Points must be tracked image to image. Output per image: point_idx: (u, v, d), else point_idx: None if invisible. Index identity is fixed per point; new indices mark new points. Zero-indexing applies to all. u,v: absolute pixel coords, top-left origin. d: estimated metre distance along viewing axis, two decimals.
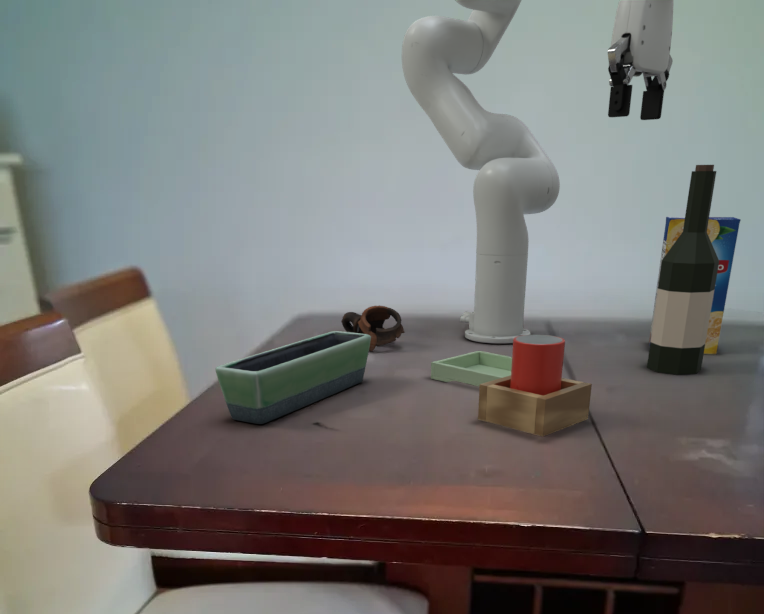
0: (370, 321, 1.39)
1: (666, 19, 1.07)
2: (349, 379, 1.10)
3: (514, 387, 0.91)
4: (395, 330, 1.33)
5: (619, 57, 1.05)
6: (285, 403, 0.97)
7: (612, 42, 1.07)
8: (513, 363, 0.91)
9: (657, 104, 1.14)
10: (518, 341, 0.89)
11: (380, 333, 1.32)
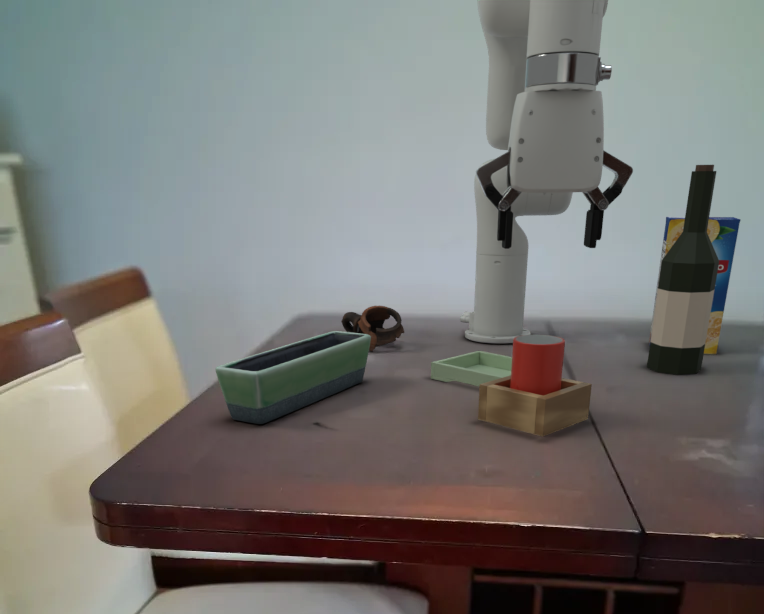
0: (370, 321, 1.39)
1: (575, 124, 0.79)
2: (349, 379, 1.10)
3: (514, 387, 0.91)
4: (395, 330, 1.33)
5: (488, 179, 0.83)
6: (286, 403, 0.97)
7: None
8: (513, 363, 0.91)
9: (590, 229, 0.84)
10: (518, 341, 0.89)
11: (380, 333, 1.32)
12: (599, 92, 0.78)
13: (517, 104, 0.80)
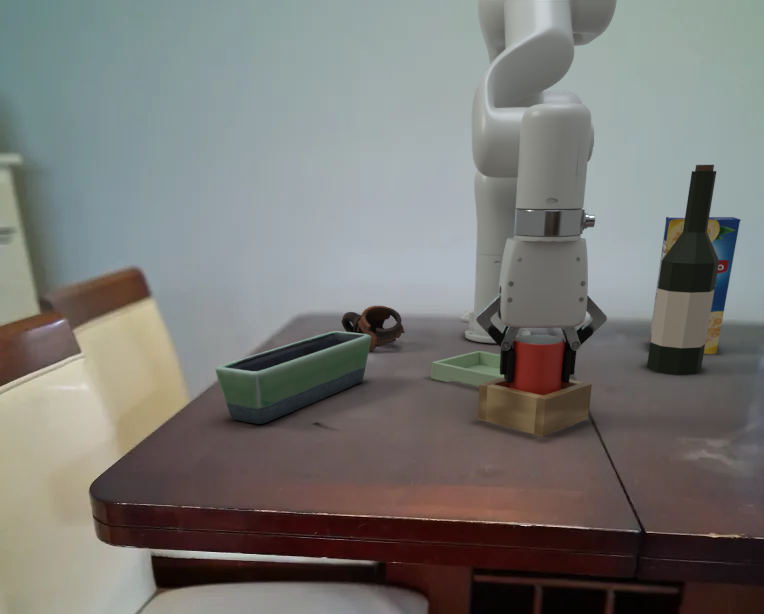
0: (370, 321, 1.39)
1: (561, 269, 0.85)
2: (349, 379, 1.10)
3: (514, 387, 0.91)
4: (395, 330, 1.33)
5: (488, 323, 0.89)
6: (286, 403, 0.97)
7: None
8: None
9: (564, 366, 0.90)
10: (518, 341, 0.89)
11: (380, 333, 1.32)
12: (583, 241, 0.84)
13: (507, 249, 0.86)
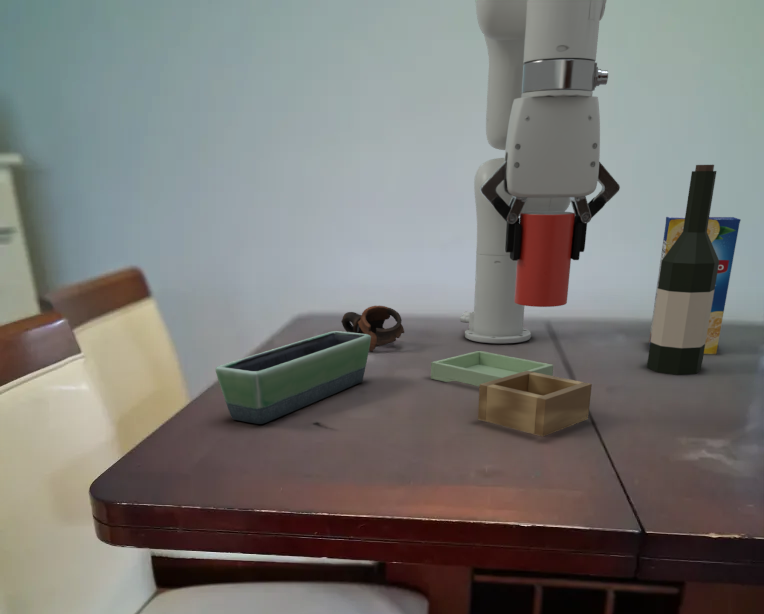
0: (370, 321, 1.39)
1: (572, 129, 0.79)
2: (349, 379, 1.10)
3: (521, 265, 0.86)
4: (395, 330, 1.33)
5: (494, 193, 0.84)
6: (286, 403, 0.97)
7: None
8: None
9: (573, 242, 0.85)
10: (525, 213, 0.84)
11: (380, 333, 1.32)
12: (595, 98, 0.78)
13: (514, 109, 0.80)
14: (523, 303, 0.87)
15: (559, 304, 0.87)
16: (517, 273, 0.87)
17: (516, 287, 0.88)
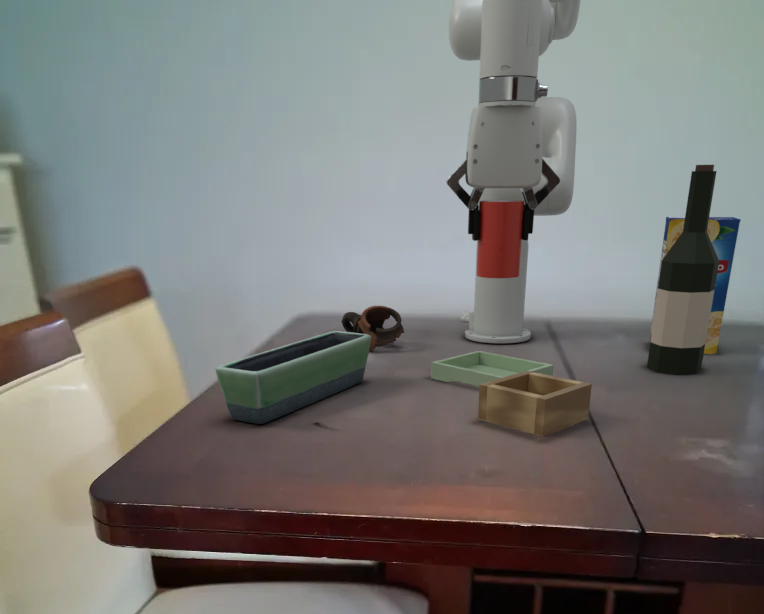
0: (370, 321, 1.39)
1: (519, 133, 0.98)
2: (349, 379, 1.10)
3: (481, 244, 1.05)
4: (395, 330, 1.33)
5: (457, 185, 1.02)
6: (286, 403, 0.97)
7: None
8: None
9: (523, 225, 1.04)
10: (483, 201, 1.03)
11: (380, 333, 1.32)
12: (537, 107, 0.97)
13: (472, 116, 0.99)
14: (483, 275, 1.06)
15: (512, 276, 1.05)
16: (478, 251, 1.06)
17: (477, 262, 1.07)
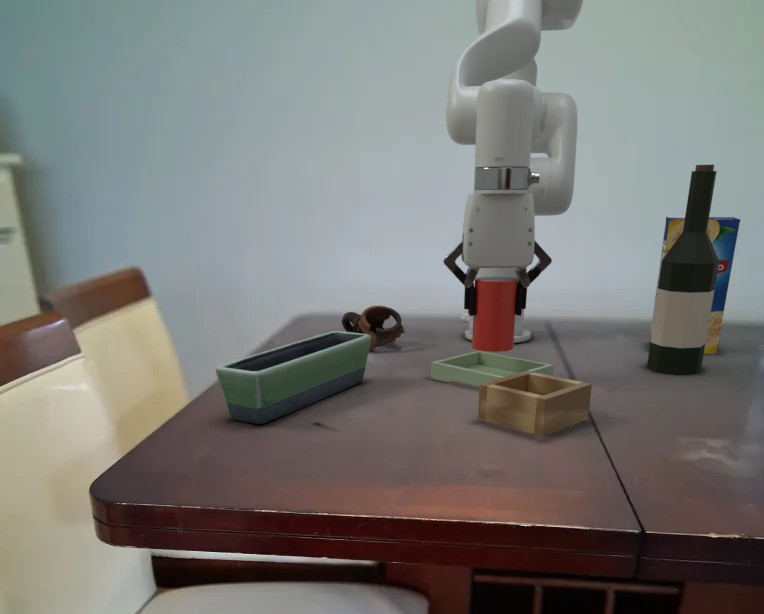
0: (370, 321, 1.39)
1: (512, 218, 1.03)
2: (349, 379, 1.10)
3: (476, 319, 1.09)
4: (395, 330, 1.33)
5: (453, 264, 1.07)
6: (286, 403, 0.97)
7: None
8: (475, 299, 1.09)
9: (517, 301, 1.09)
10: (478, 279, 1.07)
11: (380, 333, 1.32)
12: (530, 194, 1.02)
13: (468, 202, 1.04)
14: (478, 348, 1.10)
15: (506, 349, 1.10)
16: (473, 325, 1.11)
17: (473, 335, 1.11)
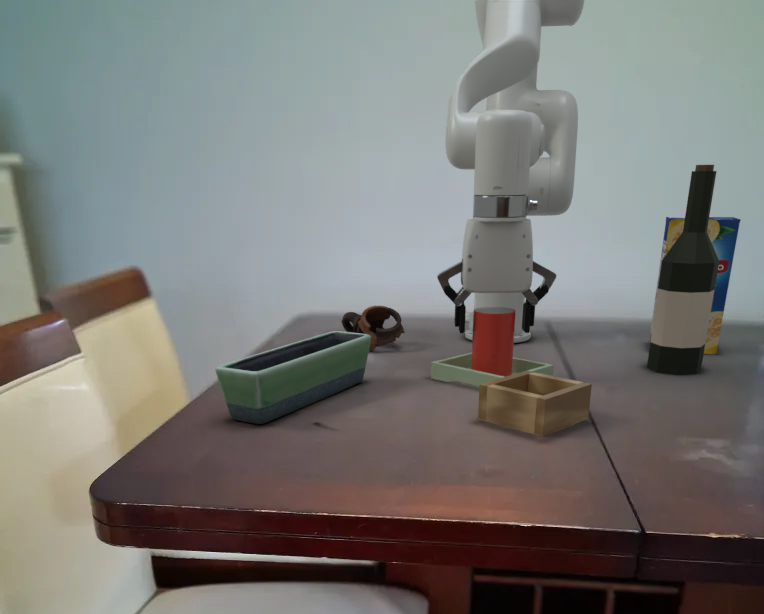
0: (370, 321, 1.39)
1: (510, 244, 1.04)
2: (349, 379, 1.10)
3: (475, 350, 1.11)
4: (395, 330, 1.33)
5: (446, 282, 1.09)
6: (286, 403, 0.97)
7: None
8: (473, 329, 1.11)
9: (525, 319, 1.10)
10: (477, 311, 1.09)
11: (380, 333, 1.32)
12: (528, 221, 1.04)
13: (467, 228, 1.05)
14: None
15: None
16: (472, 355, 1.13)
17: (472, 365, 1.13)
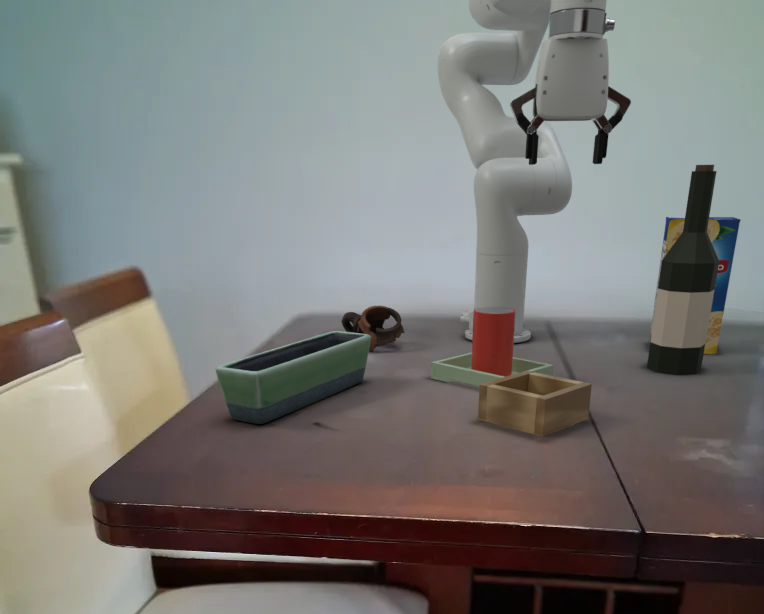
0: (370, 321, 1.39)
1: (587, 64, 1.04)
2: (349, 379, 1.10)
3: (475, 350, 1.11)
4: (395, 330, 1.33)
5: (519, 109, 1.08)
6: (286, 403, 0.97)
7: None
8: (473, 329, 1.11)
9: (598, 149, 1.09)
10: (477, 311, 1.09)
11: (380, 333, 1.32)
12: (605, 40, 1.03)
13: (542, 50, 1.05)
14: None
15: None
16: (472, 355, 1.13)
17: (472, 365, 1.13)
